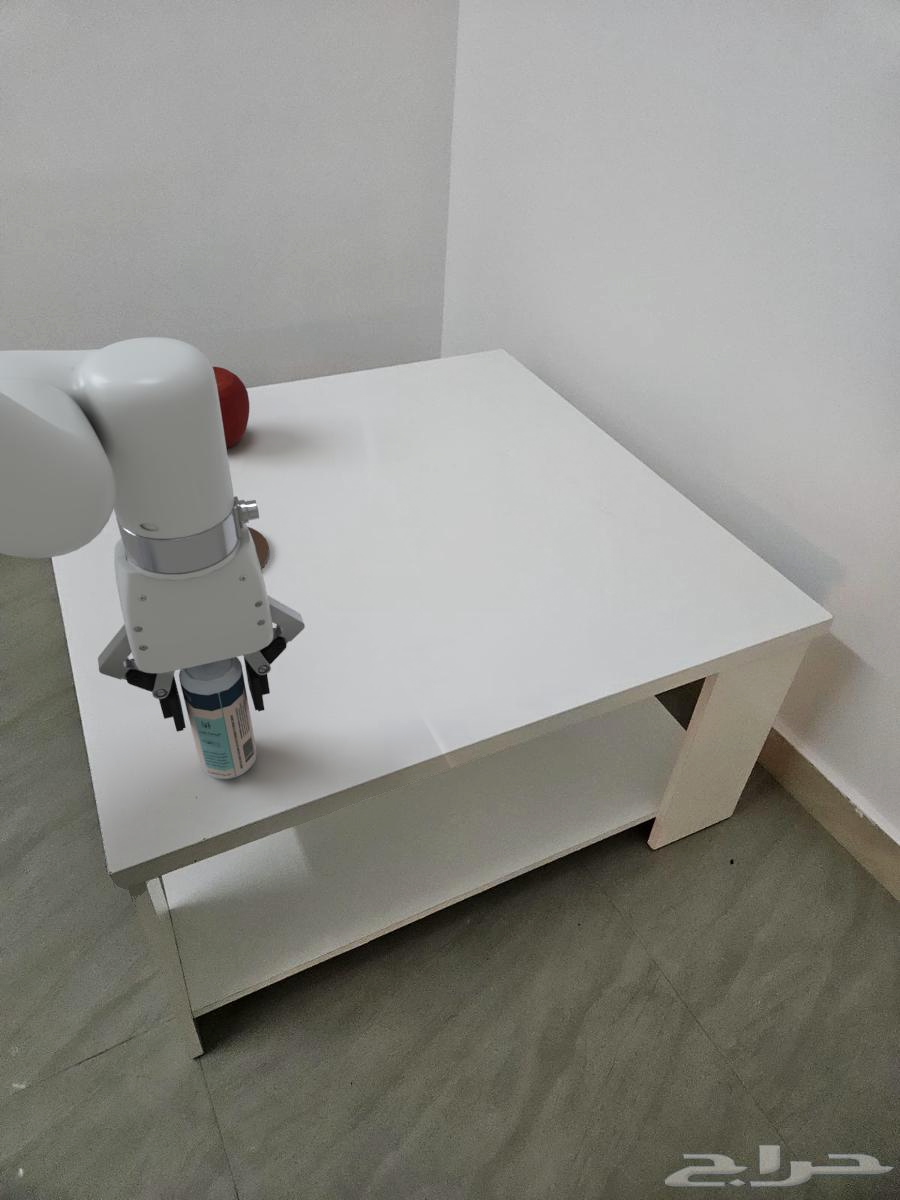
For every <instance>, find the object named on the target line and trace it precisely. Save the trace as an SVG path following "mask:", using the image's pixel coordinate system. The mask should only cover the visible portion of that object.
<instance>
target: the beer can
mask: <svg viewBox="0 0 900 1200" xmlns="http://www.w3.org/2000/svg"><path fill="white" fill-rule="evenodd" d="M178 679H179V684H180V688H181V692H182V697H183V700H184V704H185V708H186V712H187V717H188V720H189V725H190V729H191V732H192V736H193V741H194V745H195V748H196V752H197V756H198V757H197V758H198V760H199V764H200V767H201V769H202V770H203V772H204V773H205V774H207V776H210V777H212V778H215V779H221V780H229V779H233V778H237V777H239V776H241V775H243V774H244V773H246V772H247V771H248V770H250V769H251V767H252V766H253V765H254V763H255V761H256V759H257V756H258V755H257V754H258V753H257V752H258V751H257V747H256V740H255V734H254V728H253V723H252V717H251V711H250V705H249V701H248V694H247V688H246V683H245V682H246V681H245V677H244V671H243V665H242V662H241V660H240V659H239V658H238V657H234V658H230V659H225V660H221V661H216V662H212V663H208V664H203V665H199V666H194V667H190V668H185V669H180V670H179V673H178Z"/></svg>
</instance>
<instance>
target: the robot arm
mask: <svg viewBox="0 0 900 1200" xmlns="http://www.w3.org/2000/svg"><path fill="white" fill-rule="evenodd" d="M212 367H213V366H212V363H211V361H210V359H209V358H208V357H207V356H206V355H205V354H204V352H202V351H201V350H200V349H199V348H198V347H197V346H194V345H192V344H190V343H189V342H186V341H183V340H180V339H177V338H171V337H161V336H160V337H159V336H149V337H148V336H146V337H136V338H129V339H125V340H121V341H117V342H114V343H111V344H108V345H106V346H105V347H104V346H103V347H102V348H97V349H67V350H64V349H61V350H60V349H58V350H55V349H54V350H53V349H51V350H50V349H48V350H47V349H44V350H43V349H42V350H41V349H11V350H9V349H8V350H0V554H2V555H6V556H11V557H14V558H15V557H16V558H26V559H50V558H54V557H55V558H56V557H60V556H64V555H67V554H70V553H73V552H75V551H78V550H80V549H82V548H83V547H85V546H86V545H88V544H90V543H91V542H92V541H93V540H94V539H96V538H97V537H98V536H99V535H100V534H101V533H102V531H104V530H103V529H104V528H105V527H106V525H108V523H109V521H110V518H111V516H112V514H113V511H114V514H115V518H116V523H117V526H118V530H119V534H120V537H121V538H120V539H119V540H117V542H116V544H115V546H114V552H113V553H114V556H113V557H114V561H113V562H114V575H115V581H116V582H115V583H116V588H117V595H118V600H119V605H120V608H121V614H122V619H123V623H124V624H123V625H122V626H121V628H120V629H119V630H118V631H117V632H116V633H115V635H114V637H112V639H111V640H110V642H108V644H107V645H106V646H105V648H104V649H103V650H102V651H101V652H100V654H99V656H98V657H97V663H98V672H99V673H100V674H102V675H105V676H107V677H111V678H114V679H117V680H125V681H126V682H127V684H128V685H130V686H133V687H135V688H139V689H141V690H145V691H148V692H151V694H152V698H154V699H156V700H158V702H159V705H160V708H161V713H162V715H163V719H170V718H172V719H173V723H174V725H175V730H176V732H181V731H184V729H185V728H186V726H187V725H186V721H185V715H184V712H183V711H184V710H183V705H182V701H181V697H180V694H179V693H180V692H179V690H178V686H177V681H176V677H175V672H176V671H180V669H185V668H190V667H194V666H199V665H203V664H208V663H212V662H216V661H221V660H225V659H230V658H234V657H237V658H238V657H242V656H243V661H244V667H245V673H246V678H247V685H248V688H249V692H250V696H251V699H252V703H253V707H254V711H257V712H263V711H265V703H264V697H263V696H265V695H270V694H271V691H270V684H269V683H270V682H269V677H268V674H269V673H270V672H271V671H272V667H271V665H272V663H274V662H275V660H276V659H277V658H278V657H280V655H281V654H282V653H283V652H285V650H286V649H287V646H288V643H289V642H290V643H292V641H293V640H294V639H295V638H296V637H297V636H298V635H300V633H301V632H302V631H304V629H305V628H306V625H305V622H304V619H303V617H302V614H301V613H300V612H298V611H296V610H295V609H293V608H291V607H289V606H288V605H286V604H284V603H282V602H281V601H279V600H277V599H275V598H274V597H272V596H270V595H269V594H268V592H267V588H266V583H265V579H264V574H263V570H262V569H261V566H260V562H259V559H258V555H257V552H256V548H255V544H254V542H253V539H252V536H251V534H250V531H249V529H248V527H249V526H248V525H247V524H248V523H249V522H250V521H255V520H259V519H260V512H259V507H258V503H257V500H256V499H251V500H247V501H245V499H240V500H239V498H238V495H236V496H235V494H234V488H233V481H232V476H231V475H232V474H231V470H230V469H231V468H230V463H229V455H228V450H227V448H226V442H225V435H224V429H223V422H222V416H221V409H220V402H219V396H218V389H217V383H216V379H215V374H214V370H213V368H212ZM273 624H274V625H276V626H275V627H274V625H273ZM131 654H132V658H129V656H130V655H131Z"/></svg>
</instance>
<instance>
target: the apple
mask: <svg viewBox="0 0 900 1200" xmlns="http://www.w3.org/2000/svg"><path fill="white" fill-rule="evenodd" d="M212 368H213V370H214V374H215V379H216V383H217V389H218V396H219V402H220V409H221V416H222V422H223V429H224V435H225V442H226V449H227V448H231V447H233V446H235V445H236V444H238V443H239V442H240V441H241V440H242V438H243V437H244V435H245V433H246V431H247V427H248V424H249V417H250V399H249V393H248V390H247V387H246V385H245V384H244V382H243V381H242V380H241V379H240V377H239V376H238V375H236V374H235V373H234V372H232V371H230V370H228V369H226V368H224V367H220V366H212Z"/></svg>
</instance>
